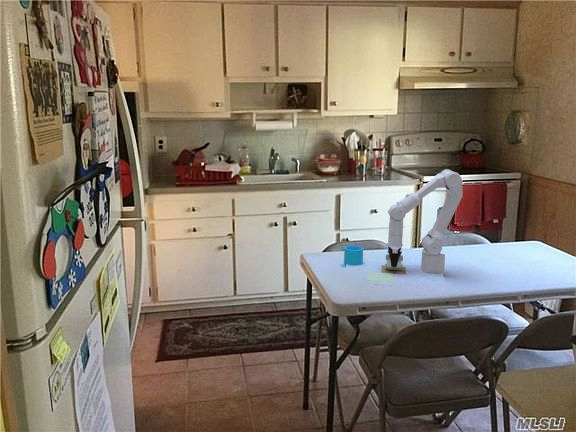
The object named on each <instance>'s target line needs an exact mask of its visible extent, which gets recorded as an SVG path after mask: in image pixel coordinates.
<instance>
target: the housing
mask: <svg viewBox="0 0 576 432" xmlns="http://www.w3.org/2000/svg"><path fill="white" fill-rule="evenodd" d="M385 261H386V263H385V264H384V266H385V269H392V270H402V267H403V264H402V262H403V261H404V255H402V254H401V255H400V257H399V260H398V264H397V267H391V261H390V256H389V254H388V253H387V254H385Z"/></svg>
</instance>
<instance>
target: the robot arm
mask: <svg viewBox="0 0 576 432" xmlns="http://www.w3.org/2000/svg"><path fill="white" fill-rule="evenodd" d="M463 183H464V180H463V179H462V177H461V175H460V173H458V172H455V171H452V170H451V169H448V168H447V169H443V170H442V171H441V172H439V173H437V174H436V175H434V177H433V178H431V179H430V180H429V181H428V182H427V183H426V184H424V185H423V186H422V187H421V188H420V189H418V190H417V191H416V192H409V193H406V194H405V196H404V198H401V200H399V201H397V202H396V204H393V205H391V206H390V207H389V208H388V211H387V213H388V215H389V223H388V237H387V238H388V239H387V242H385V243H384V246H387V254H388V255H389V256H390V261H391V267H397V264H398V260H399V257H400V255H402V253H403V251H401V250H402V249H403V246H404V245H403V237H404V236H403V235H404V234H403V232H404V219H405V217H406V215H407V214H408V213H409V212H411V211H412V210H413V209H415V208H416V207H417V206H418V205H420V203H421V200H422V199H423V198H425V197H426V196H427V195H429V194H431V193H433V191H435V190H436V189H445V190H446V193H447V194H448V195H447V198H446V199H445V201H444V203H443V205H442V208H441V209H440V211H439V213H438V215H437V218H436V220H435V222H434V224H433V225H432V228H431V229H430V230H429V231H428V232H427V234H425V235H424V236H423V238H422V239H421V246H422V247H423V249H422V252H421V265H420V270H421V271H422V272H424V273H427V274H429V273H430V274H442V275H443V277H444V276H445V265H446V255H445V253H441V252H442V251H443V250H442V249H443V243H444V237H445V235H444V234H445V233H446V231H447V229H448V226H449V225H450V222H451V221H452V218H453V216H454V214H455V212H456V211H457V208H458V207H459V205H460V202H461V201H462V198H463V195H464V194H463V193H464V190H463Z"/></svg>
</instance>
